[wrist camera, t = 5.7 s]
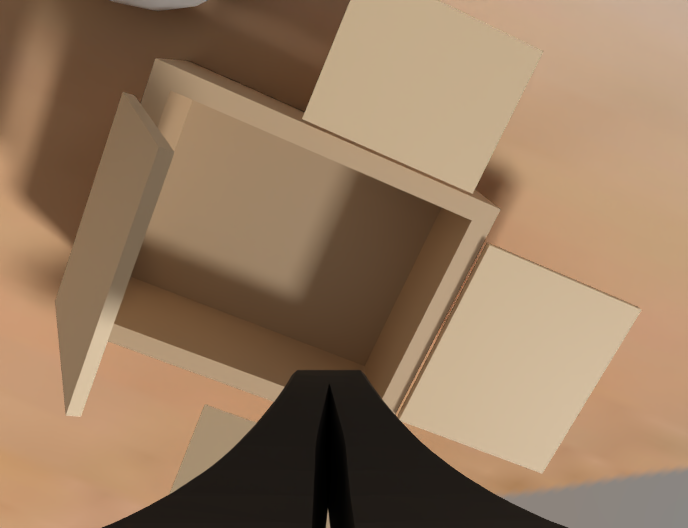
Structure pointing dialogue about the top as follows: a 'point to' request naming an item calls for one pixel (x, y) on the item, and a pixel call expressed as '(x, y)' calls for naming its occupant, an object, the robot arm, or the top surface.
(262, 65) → the top surface
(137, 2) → the can
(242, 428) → the side flap
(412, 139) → the carton
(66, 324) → the long flap
